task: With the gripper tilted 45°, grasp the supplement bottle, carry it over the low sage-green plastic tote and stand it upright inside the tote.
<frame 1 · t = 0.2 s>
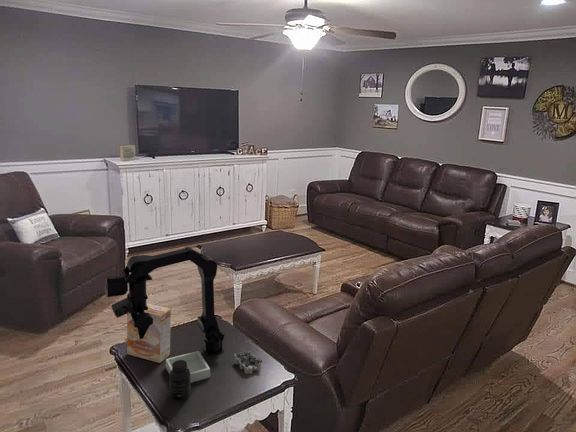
hand: (138, 332, 155), 15 cm above the table, tool pointing down, fingers open, 9 cm apart
supplement bottle: (180, 395, 147), on the table
egg carton: (247, 366, 165), on the table
coffeecake box: (148, 355, 168), on the table, touching gripper
tote: (187, 372, 159), on the table
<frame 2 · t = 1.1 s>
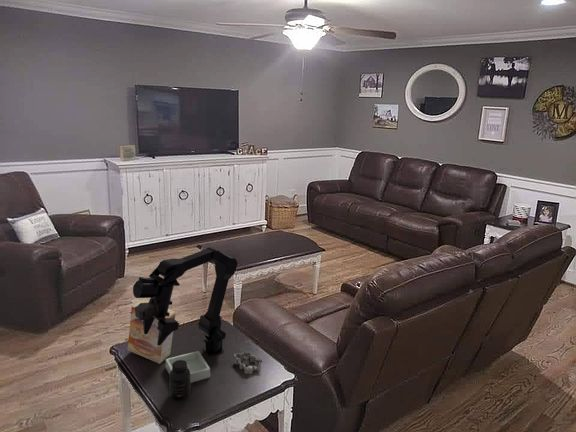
hand: (152, 339, 151), 15 cm above the table, tool tilted 15°, fingers open, 9 cm apart
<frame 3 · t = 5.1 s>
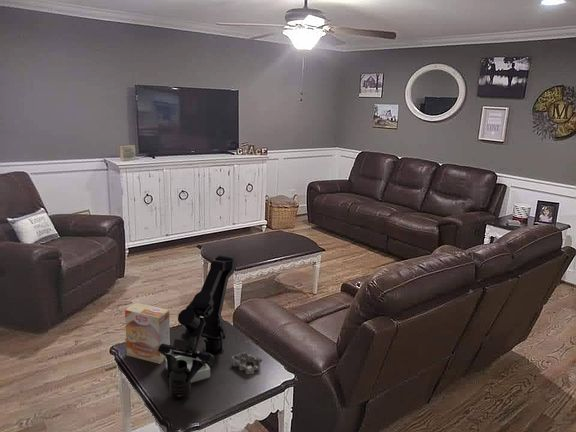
hand: (177, 380, 143), 7 cm above the table, tool tilted 45°, fingers closed on supplement bottle, 7 cm apart
supplement bottle: (180, 395, 147), on the table, touching gripper
coffeecake box: (148, 355, 168), on the table
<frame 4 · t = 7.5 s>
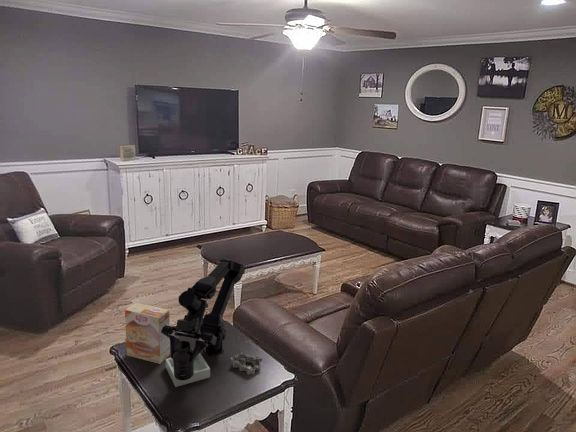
hand: (181, 360, 147), 11 cm above the table, tool tilted 45°, fingers closed on supplement bottle, 7 cm apart
supplement bottle: (183, 375, 150), point 4 cm above the table, touching gripper
when the fingers open (9 cm above the table, at t = 9.7 s): supplement bottle stays where it is, resting on tote.
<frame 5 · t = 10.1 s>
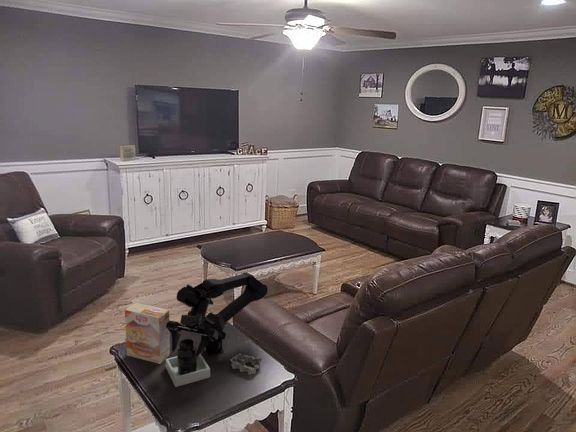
hand: (184, 353, 154), 9 cm above the table, tool tilted 45°, fingers open, 9 cm apart
supplement bottle: (187, 371, 158), point 1 cm above the table, touching tote
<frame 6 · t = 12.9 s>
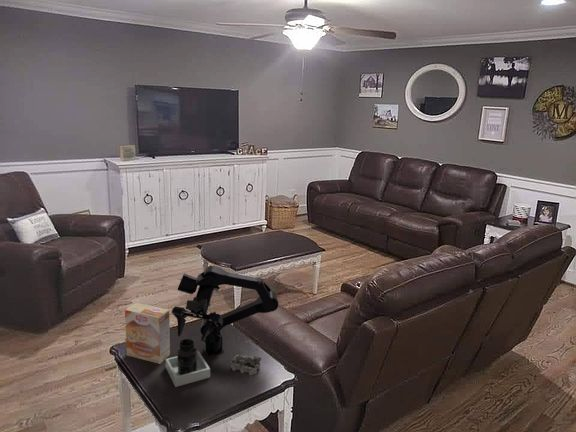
hand: (190, 338, 157), 13 cm above the table, tool tilted 45°, fingers open, 9 cm apart
at the end: supplement bottle inside the target area on the tote (0.7 cm from its centre), point 0.6 cm above the tote's base; supplement bottle tilted 0°; the gripper is holding nothing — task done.
